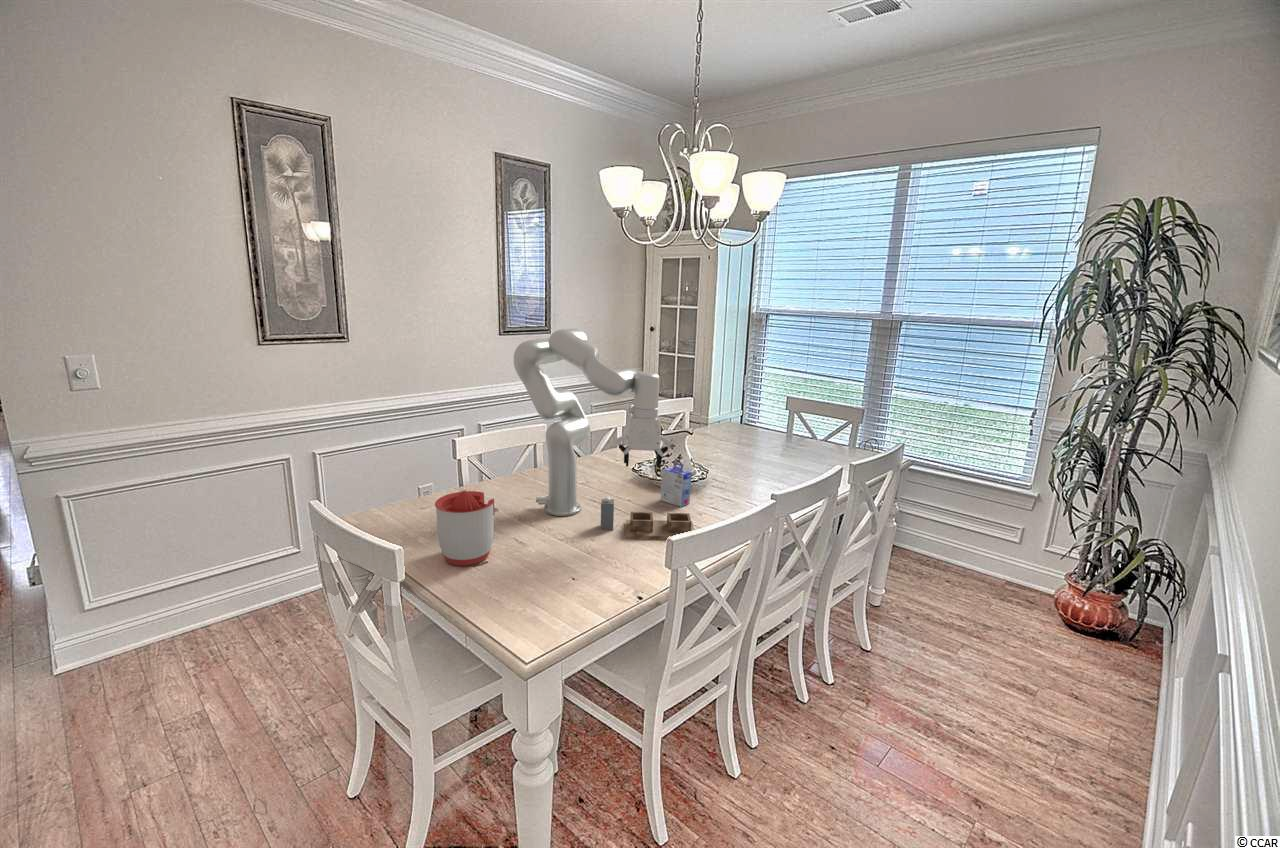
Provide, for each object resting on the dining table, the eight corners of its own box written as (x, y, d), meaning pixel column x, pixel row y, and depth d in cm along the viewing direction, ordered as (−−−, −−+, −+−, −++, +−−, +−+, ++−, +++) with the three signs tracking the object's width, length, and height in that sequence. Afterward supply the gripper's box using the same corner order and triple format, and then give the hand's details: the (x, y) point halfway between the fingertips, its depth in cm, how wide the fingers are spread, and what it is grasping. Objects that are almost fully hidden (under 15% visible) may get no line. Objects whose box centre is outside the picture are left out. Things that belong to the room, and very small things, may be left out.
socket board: (625, 538, 174) (625, 523, 172) (625, 522, 185) (626, 508, 184) (696, 540, 174) (697, 525, 173) (691, 524, 186) (692, 510, 185)
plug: (600, 530, 179) (601, 500, 177) (601, 524, 183) (601, 495, 181) (613, 530, 179) (613, 500, 177) (613, 525, 183) (614, 495, 181)
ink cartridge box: (690, 503, 204) (692, 465, 201) (681, 507, 200) (684, 469, 197) (668, 496, 210) (670, 459, 207) (659, 500, 206) (661, 463, 203)
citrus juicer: (511, 557, 159) (510, 490, 155) (453, 576, 148) (450, 505, 143) (484, 538, 170) (482, 476, 166) (428, 555, 159) (424, 488, 154)
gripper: (617, 414, 167) (614, 468, 171) (674, 416, 168) (670, 471, 172) (617, 408, 174) (614, 461, 179) (672, 411, 175) (668, 463, 179)
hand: (642, 465), depth 175 cm, fingers open, 9 cm apart
